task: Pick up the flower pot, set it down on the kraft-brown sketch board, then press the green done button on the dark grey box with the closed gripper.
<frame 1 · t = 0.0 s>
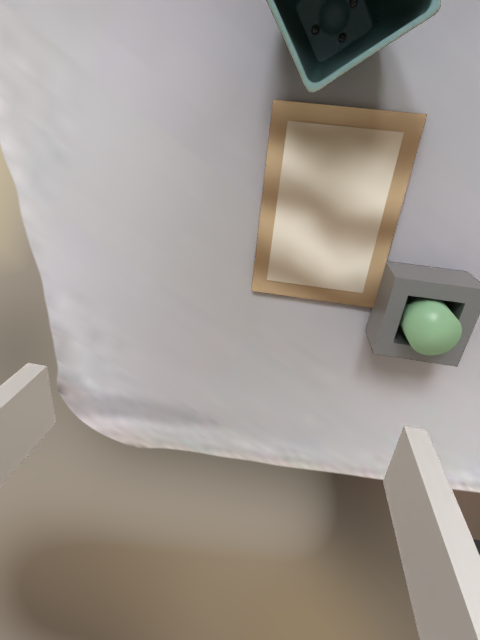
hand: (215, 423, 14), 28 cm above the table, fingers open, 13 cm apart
flower pot: (332, 19, 31), on the table
sketch board: (327, 212, 37), on the table
done button: (426, 322, 36), point 5 cm above the table, slide at 0.0 cm
button box: (413, 302, 40), on the table
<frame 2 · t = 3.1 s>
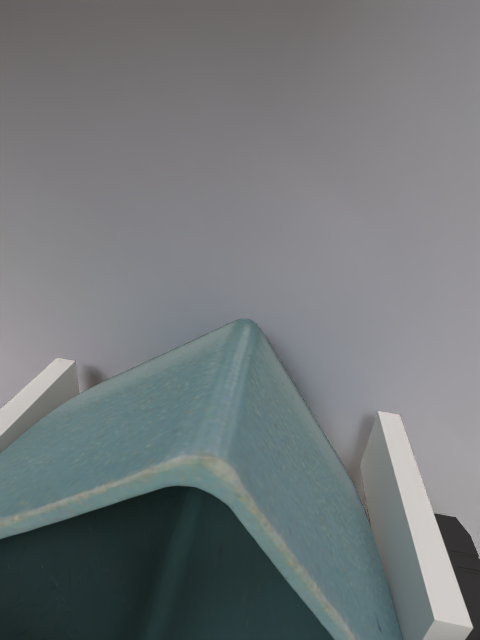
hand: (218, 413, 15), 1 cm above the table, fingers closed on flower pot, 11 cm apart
flower pot: (226, 389, 16), on the table, touching gripper
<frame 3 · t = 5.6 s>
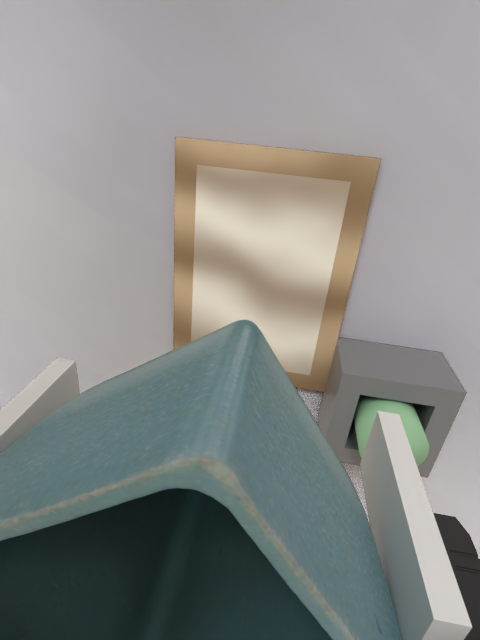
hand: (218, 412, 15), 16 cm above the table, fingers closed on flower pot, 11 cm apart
flower pot: (226, 390, 16), point 14 cm above the table, touching gripper
sketch board: (260, 278, 29), on the table
done button: (386, 424, 27), point 5 cm above the table, slide at 0.0 cm
button box: (375, 385, 31), on the table
when the fingers open (3 cm above the table, at t = 8.5 s): flower pot moves 2 cm, resting on sketch board.
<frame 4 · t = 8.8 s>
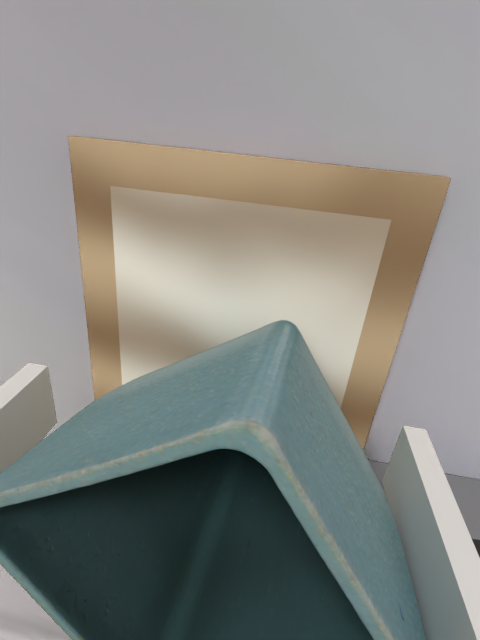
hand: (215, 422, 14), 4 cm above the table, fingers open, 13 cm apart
flower pot: (261, 390, 17), point 1 cm above the table, touching gripper, sketch board
sketch board: (231, 368, 17), on the table
button box: (415, 526, 20), on the table
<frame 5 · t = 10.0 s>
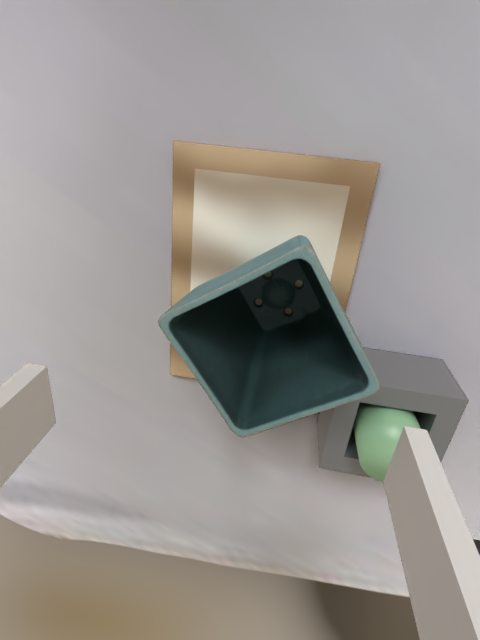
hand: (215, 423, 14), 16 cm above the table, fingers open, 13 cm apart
flower pot: (277, 292, 28), resting on sketch board
sketch board: (258, 283, 28), on the table
done button: (386, 432, 27), point 5 cm above the table, slide at 0.0 cm
button box: (375, 393, 31), on the table
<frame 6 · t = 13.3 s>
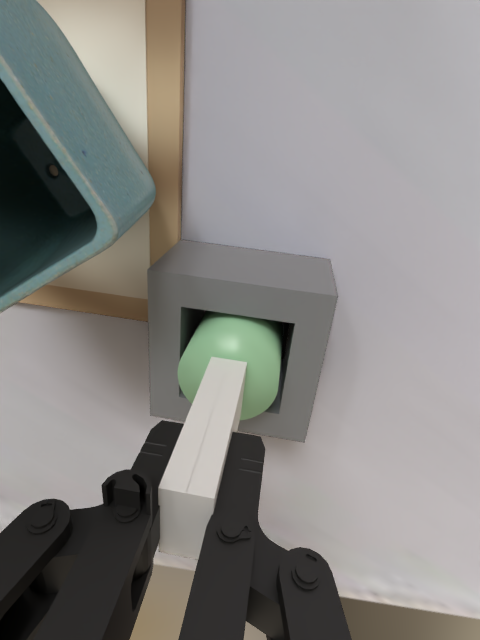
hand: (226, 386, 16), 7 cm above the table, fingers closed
flower pot: (81, 155, 19), resting on sketch board
sketch board: (57, 145, 19), on the table
done button: (235, 351, 18), point 4 cm above the table, slide at 0.6 cm, touching gripper
button box: (246, 316, 22), on the table
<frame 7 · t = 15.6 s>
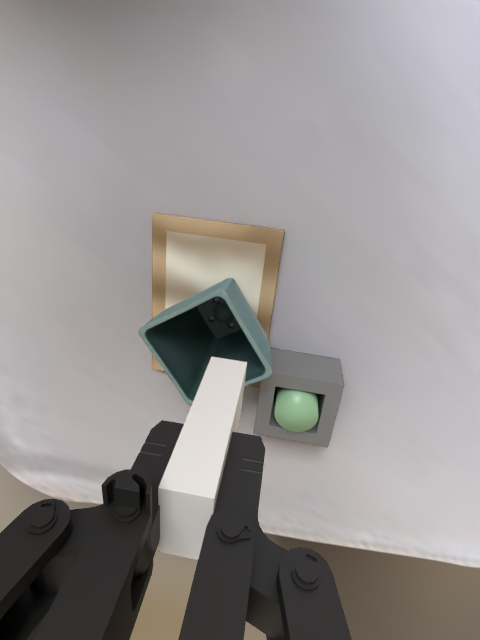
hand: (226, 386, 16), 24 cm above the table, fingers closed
flower pot: (224, 311, 41), resting on sketch board
sketch board: (212, 305, 41), on the table
done button: (296, 400, 40), point 3 cm above the table, slide at 1.3 cm
button box: (297, 383, 43), on the table
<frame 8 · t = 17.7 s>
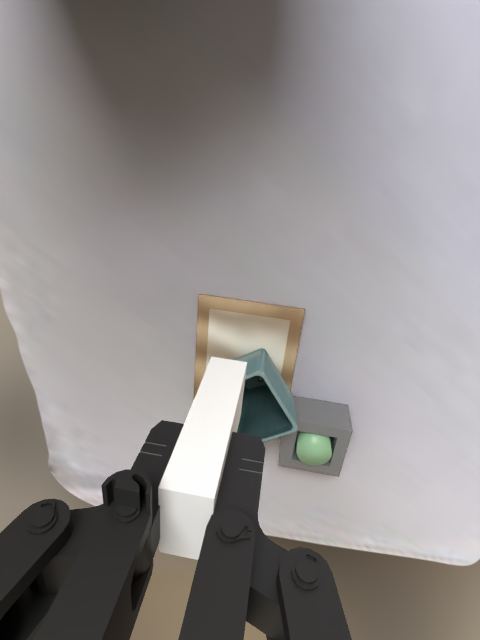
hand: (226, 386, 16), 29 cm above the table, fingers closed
flower pot: (254, 368, 50), resting on sketch board
sketch board: (244, 363, 50), on the table
done button: (313, 439, 50), point 3 cm above the table, slide at 1.3 cm
button box: (312, 422, 53), on the table
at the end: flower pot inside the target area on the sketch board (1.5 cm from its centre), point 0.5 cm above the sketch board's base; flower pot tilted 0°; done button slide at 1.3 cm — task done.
